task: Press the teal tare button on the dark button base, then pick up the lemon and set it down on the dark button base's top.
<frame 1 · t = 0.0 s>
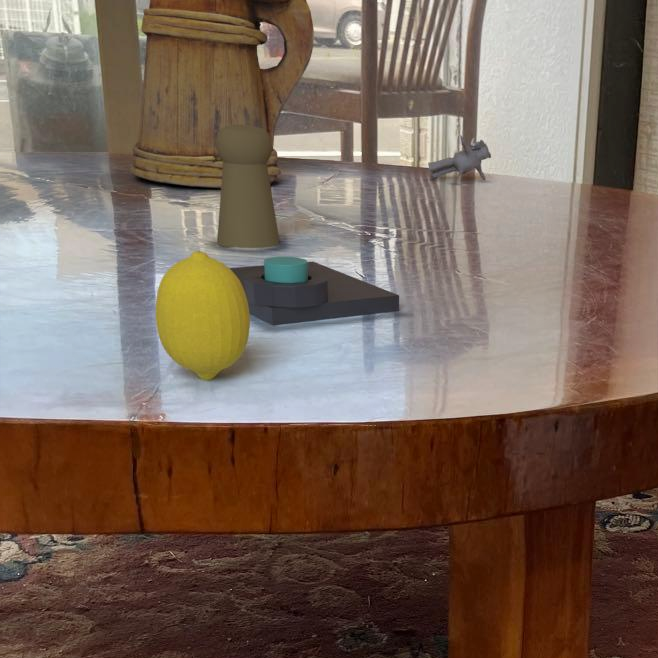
dark button base: (295, 300, 90), on the table
grey branched piece: (460, 182, 162), on the table
lemon: (207, 383, 70), on the table
tare button: (286, 271, 84), point 3 cm above the table, slide at 0.2 cm
tankard: (226, 182, 147), on the table
cork: (248, 245, 110), on the table
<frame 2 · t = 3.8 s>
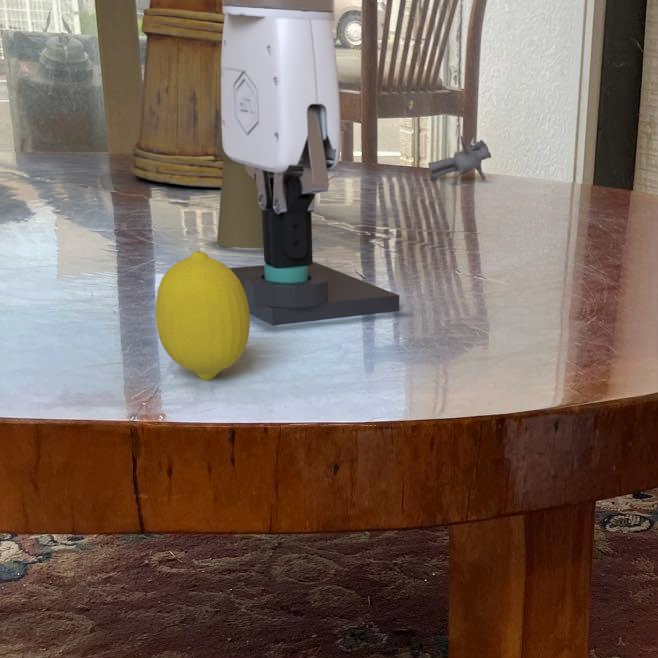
hand: (288, 264, 84), 4 cm above the table, tool pointing down, fingers closed
tare button: (286, 275, 84), point 3 cm above the table, slide at -0.2 cm, touching gripper
everything else where it was.
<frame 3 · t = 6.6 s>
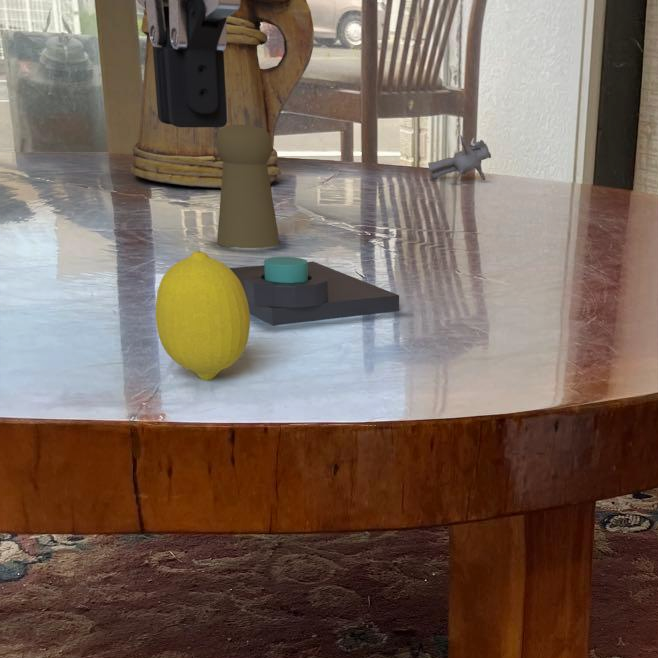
hand: (192, 123, 64), 15 cm above the table, tool pointing down, fingers closed
tare button: (286, 271, 84), point 3 cm above the table, slide at 0.2 cm
everything else where it was.
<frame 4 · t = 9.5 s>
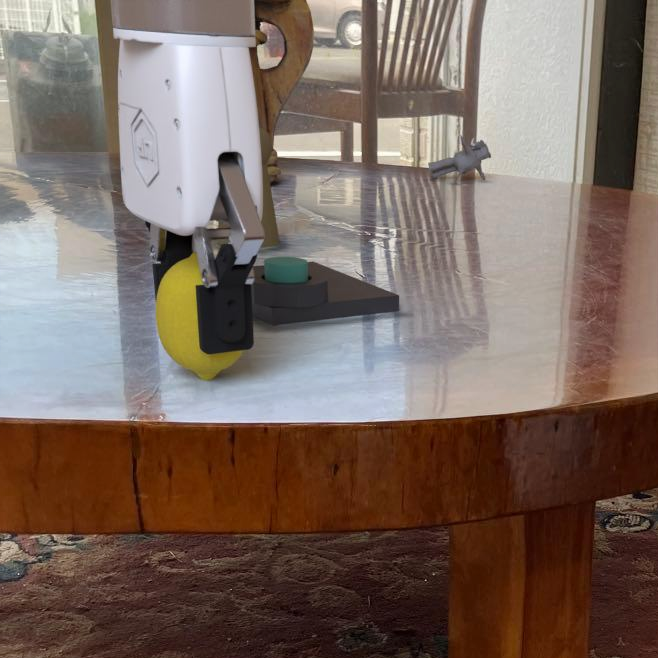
hand: (204, 335, 69), 3 cm above the table, tool pointing down, fingers closed on lemon, 5 cm apart
lemon: (207, 383, 70), on the table, touching gripper
everything else where it was.
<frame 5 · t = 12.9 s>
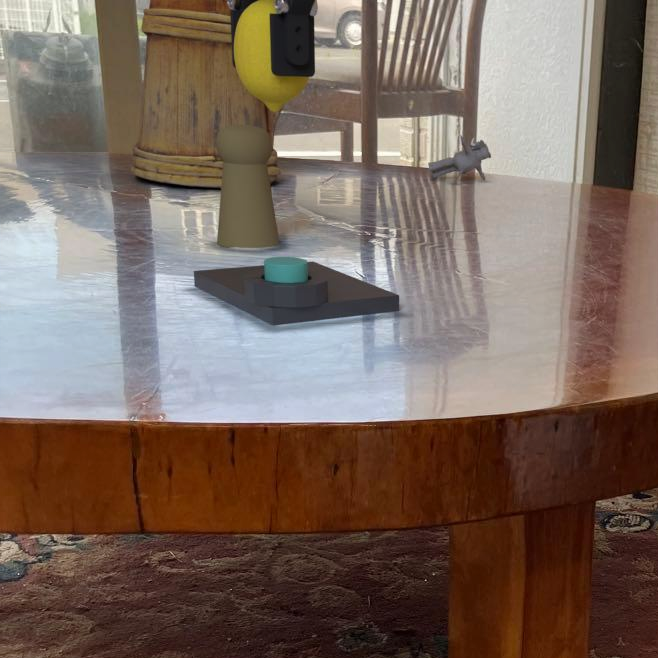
hand: (273, 69, 82), 17 cm above the table, tool pointing down, fingers closed on lemon, 5 cm apart
lemon: (274, 114, 83), point 14 cm above the table, touching gripper
everything else where it was.
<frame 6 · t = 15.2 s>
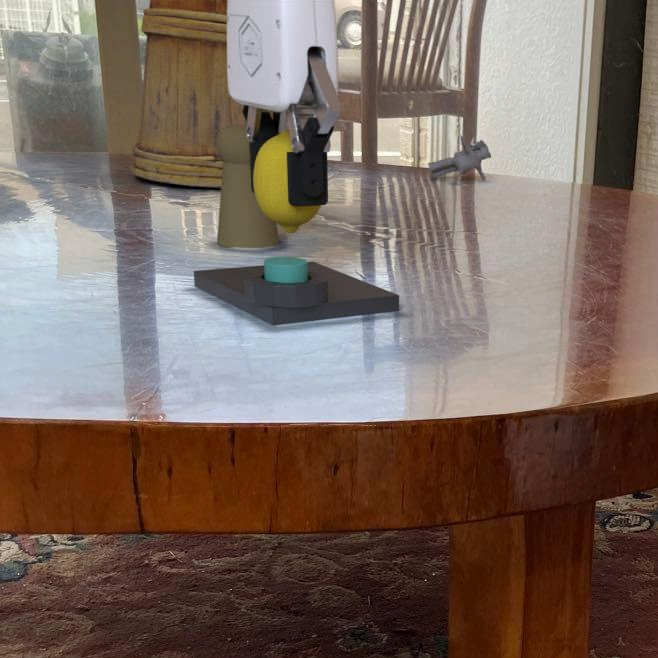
hand: (289, 196, 89), 8 cm above the table, tool pointing down, fingers closed on lemon, 5 cm apart
lemon: (290, 236, 91), point 5 cm above the table, touching gripper
everything else where it was.
when the fingers open (4 cm above the table, at t = 16.7 s): lemon stays where it is, resting on dark button base.
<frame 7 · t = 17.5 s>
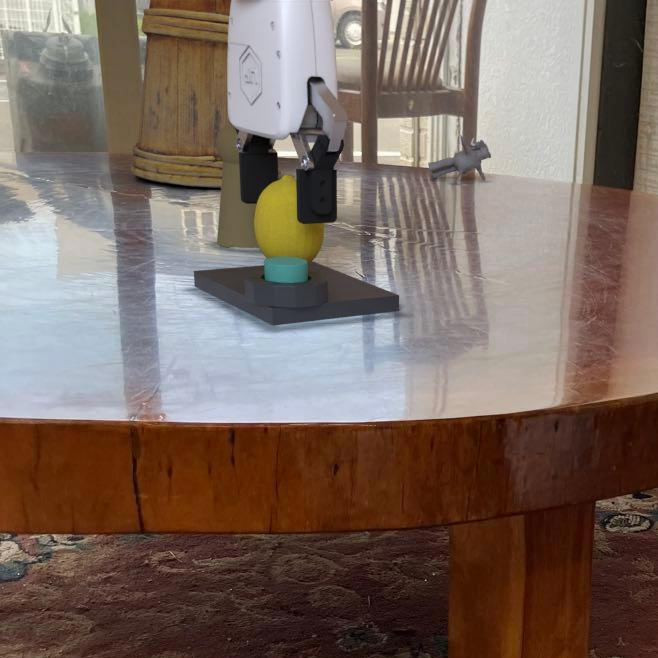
hand: (287, 212, 90), 6 cm above the table, tool pointing down, fingers open, 9 cm apart
lemon: (291, 277, 92), point 1 cm above the table, touching dark button base
everything else where it was.
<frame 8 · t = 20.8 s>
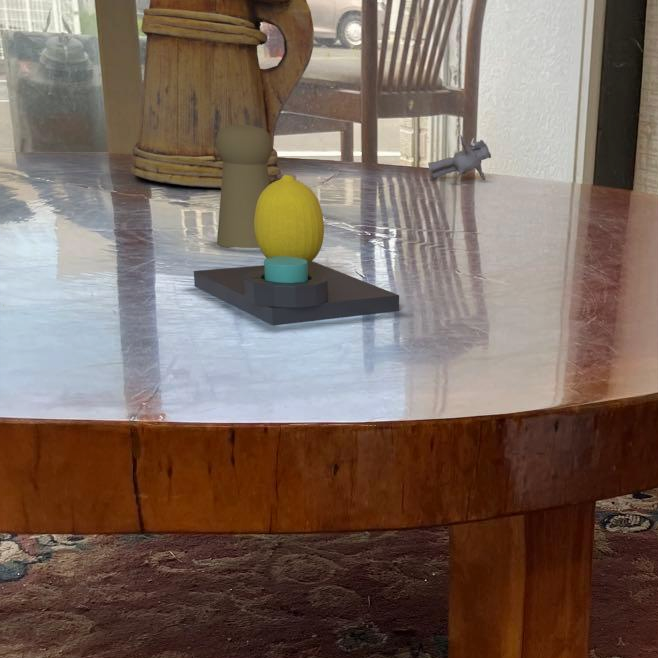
nothing on the table moved.
at the end: tare button pushed in 0.9 cm at the most during the clip, back to 0.2 cm at the end; lemon touching dark button base; lemon inside the target area on the dark button base (2.7 cm from its centre), point 1.2 cm above the dark button base's base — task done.
